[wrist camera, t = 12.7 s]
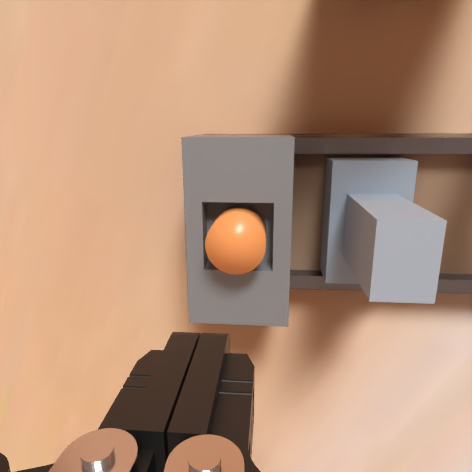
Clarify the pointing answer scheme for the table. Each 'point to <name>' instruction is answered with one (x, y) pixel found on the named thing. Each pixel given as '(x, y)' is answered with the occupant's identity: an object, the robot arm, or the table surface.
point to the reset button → (236, 240)
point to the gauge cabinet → (229, 194)
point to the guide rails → (381, 146)
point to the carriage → (379, 230)
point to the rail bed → (425, 195)
